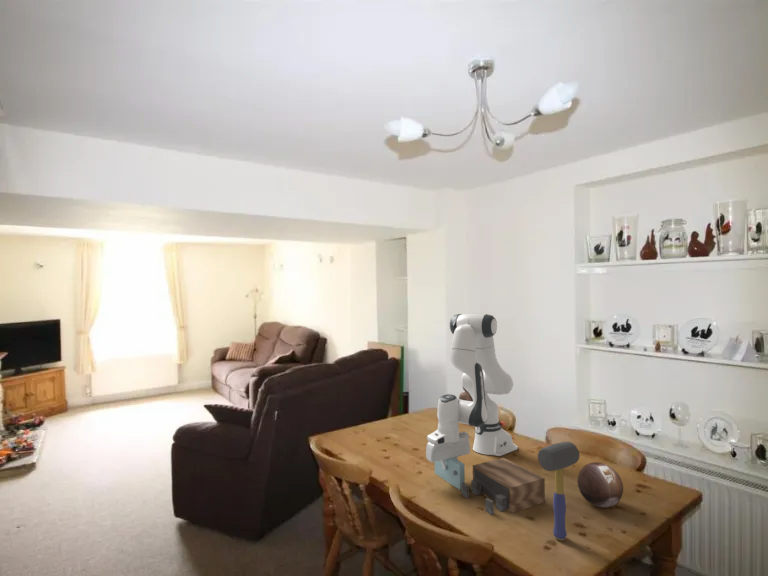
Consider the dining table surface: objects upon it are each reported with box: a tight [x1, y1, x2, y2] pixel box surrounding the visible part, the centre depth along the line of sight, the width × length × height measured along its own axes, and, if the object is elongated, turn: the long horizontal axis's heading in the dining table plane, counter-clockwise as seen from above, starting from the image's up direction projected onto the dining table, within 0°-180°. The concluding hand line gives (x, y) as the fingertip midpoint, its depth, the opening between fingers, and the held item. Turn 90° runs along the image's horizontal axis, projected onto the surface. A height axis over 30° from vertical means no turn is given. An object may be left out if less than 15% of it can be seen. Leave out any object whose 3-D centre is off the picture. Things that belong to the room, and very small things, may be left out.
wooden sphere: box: [576, 461, 624, 508], centre depth 159 cm, size 15×15×15 cm
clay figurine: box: [458, 385, 473, 401], centre depth 259 cm, size 13×10×25 cm
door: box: [433, 457, 466, 491], centre depth 180 cm, size 3×18×10 cm, turn 27°
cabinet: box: [461, 457, 546, 516], centre depth 166 cm, size 24×22×9 cm
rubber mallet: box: [537, 441, 580, 541], centre depth 138 cm, size 12×8×30 cm, turn 120°
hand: (448, 468), depth 180 cm, fingers closed on door, 2 cm apart
